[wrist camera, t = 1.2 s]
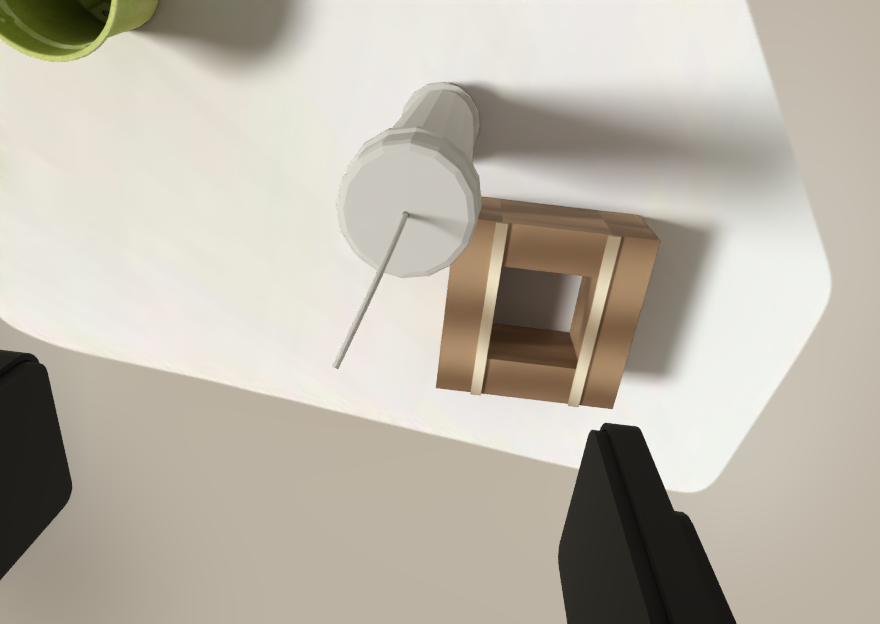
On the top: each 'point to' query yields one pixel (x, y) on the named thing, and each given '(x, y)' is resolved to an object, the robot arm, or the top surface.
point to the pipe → (413, 191)
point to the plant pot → (68, 25)
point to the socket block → (534, 350)
